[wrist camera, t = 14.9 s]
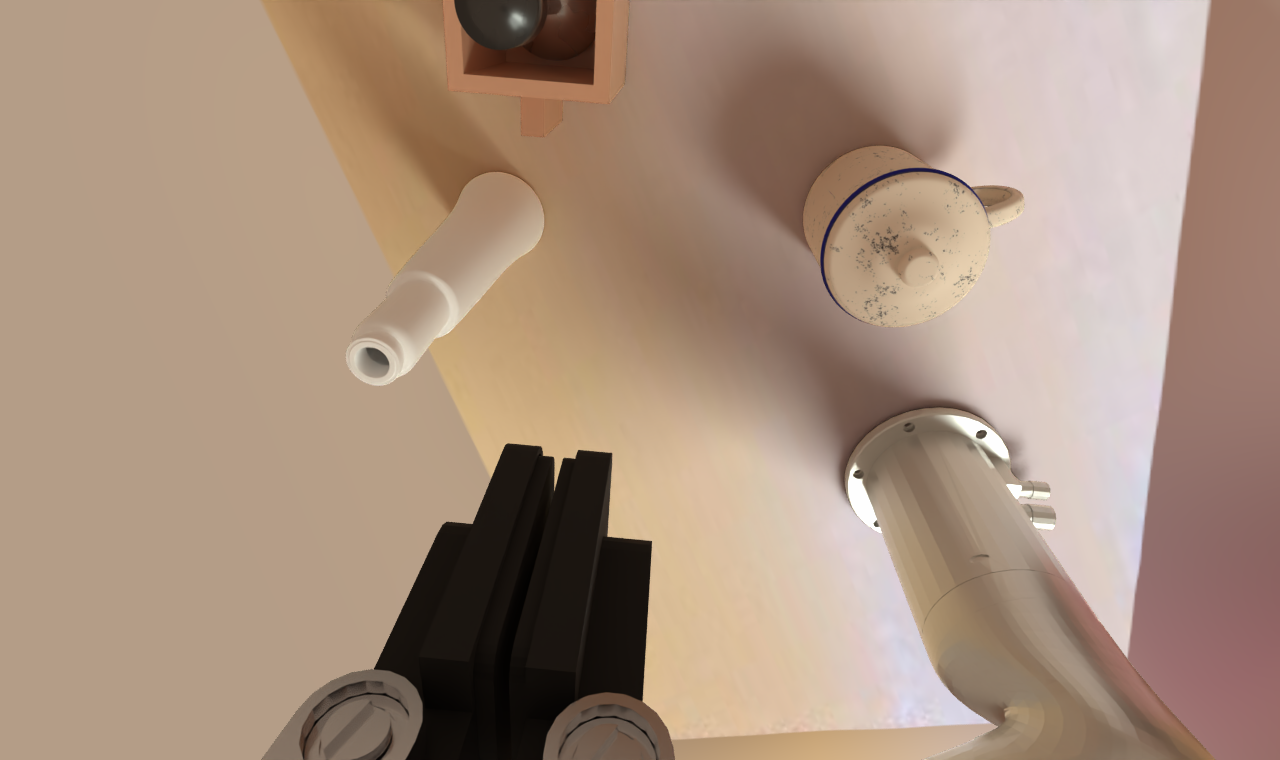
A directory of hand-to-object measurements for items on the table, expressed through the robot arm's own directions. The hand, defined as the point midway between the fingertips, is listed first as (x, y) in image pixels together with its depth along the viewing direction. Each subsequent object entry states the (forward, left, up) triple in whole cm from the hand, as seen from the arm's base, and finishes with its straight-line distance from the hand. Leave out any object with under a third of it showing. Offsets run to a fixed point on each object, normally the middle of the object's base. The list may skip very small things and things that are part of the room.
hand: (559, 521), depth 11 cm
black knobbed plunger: (+6, -7, -35) cm, 36 cm away
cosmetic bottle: (+10, +6, -37) cm, 39 cm away
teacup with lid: (-16, +3, -37) cm, 41 cm away
